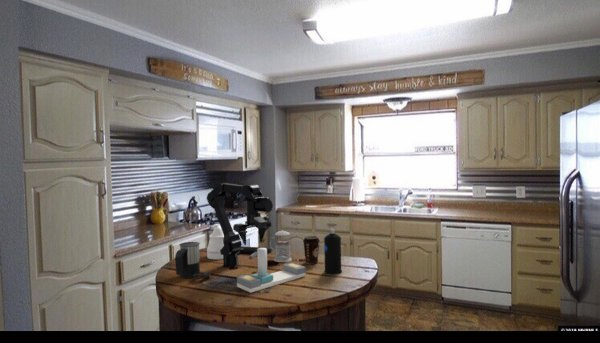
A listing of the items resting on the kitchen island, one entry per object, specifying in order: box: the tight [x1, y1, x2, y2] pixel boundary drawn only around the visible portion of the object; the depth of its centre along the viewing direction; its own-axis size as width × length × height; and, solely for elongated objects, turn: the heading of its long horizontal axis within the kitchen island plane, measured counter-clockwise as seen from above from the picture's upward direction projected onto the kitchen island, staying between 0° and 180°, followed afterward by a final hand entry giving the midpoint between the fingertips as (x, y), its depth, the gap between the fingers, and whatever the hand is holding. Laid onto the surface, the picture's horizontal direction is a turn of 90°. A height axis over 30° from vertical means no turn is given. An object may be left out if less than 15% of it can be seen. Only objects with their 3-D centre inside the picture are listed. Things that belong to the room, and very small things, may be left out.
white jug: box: [206, 223, 224, 260], centre depth 202 cm, size 13×13×18 cm
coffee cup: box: [302, 235, 321, 265], centre depth 186 cm, size 9×8×13 cm
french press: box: [269, 212, 293, 263], centre depth 193 cm, size 10×12×25 cm
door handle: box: [237, 245, 273, 259], centre depth 205 cm, size 3×20×16 cm
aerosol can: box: [323, 228, 343, 275], centre depth 170 cm, size 8×8×20 cm
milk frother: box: [174, 241, 212, 279], centre depth 166 cm, size 14×16×15 cm
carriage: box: [251, 247, 273, 283], centre depth 154 cm, size 6×7×13 cm
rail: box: [236, 262, 307, 294], centre depth 158 cm, size 30×10×4 cm, turn 132°
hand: (253, 243), depth 174 cm, fingers open, 9 cm apart
